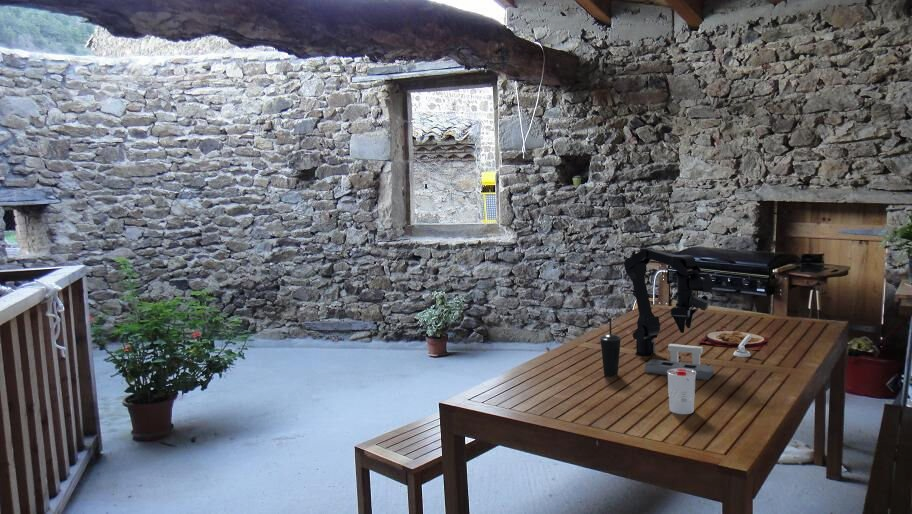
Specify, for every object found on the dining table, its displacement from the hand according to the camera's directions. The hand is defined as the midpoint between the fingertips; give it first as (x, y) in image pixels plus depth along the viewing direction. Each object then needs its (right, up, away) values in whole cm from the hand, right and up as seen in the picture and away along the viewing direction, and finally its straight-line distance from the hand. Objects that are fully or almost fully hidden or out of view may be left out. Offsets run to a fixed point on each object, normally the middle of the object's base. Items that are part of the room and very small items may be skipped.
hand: (685, 330), depth 250 cm
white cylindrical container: (-18, -19, -48) cm, 55 cm away
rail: (-6, -14, -10) cm, 18 cm away
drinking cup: (-30, -15, -8) cm, 35 cm away
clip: (0, -13, +1) cm, 13 cm away
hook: (+26, -11, +12) cm, 31 cm away
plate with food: (+34, -9, +34) cm, 49 cm away
